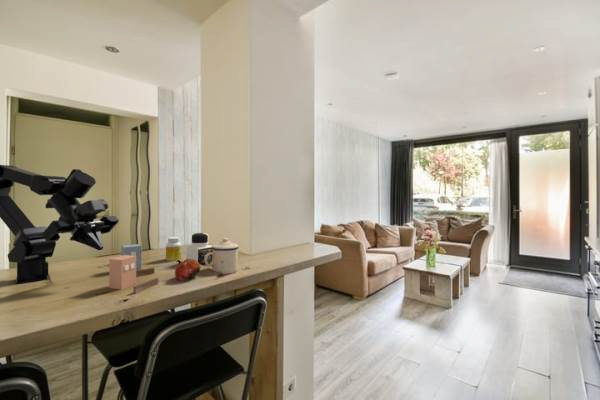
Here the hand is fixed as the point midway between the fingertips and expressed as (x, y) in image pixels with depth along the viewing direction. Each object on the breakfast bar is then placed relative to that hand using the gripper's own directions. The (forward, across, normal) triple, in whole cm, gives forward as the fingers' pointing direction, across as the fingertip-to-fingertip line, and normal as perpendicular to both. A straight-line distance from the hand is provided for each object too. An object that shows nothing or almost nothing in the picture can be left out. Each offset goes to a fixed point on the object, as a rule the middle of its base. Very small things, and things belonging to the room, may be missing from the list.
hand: (101, 249), depth 79 cm
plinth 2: (+15, 0, +1) cm, 15 cm away
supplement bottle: (+8, +31, +7) cm, 33 cm away
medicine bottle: (+17, +30, -1) cm, 35 cm away
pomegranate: (+22, +11, -6) cm, 26 cm away
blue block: (+4, +14, +10) cm, 18 cm away
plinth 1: (+8, +12, +8) cm, 17 cm away
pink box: (+12, 0, +2) cm, 12 cm away
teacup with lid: (+26, +24, -10) cm, 36 cm away
